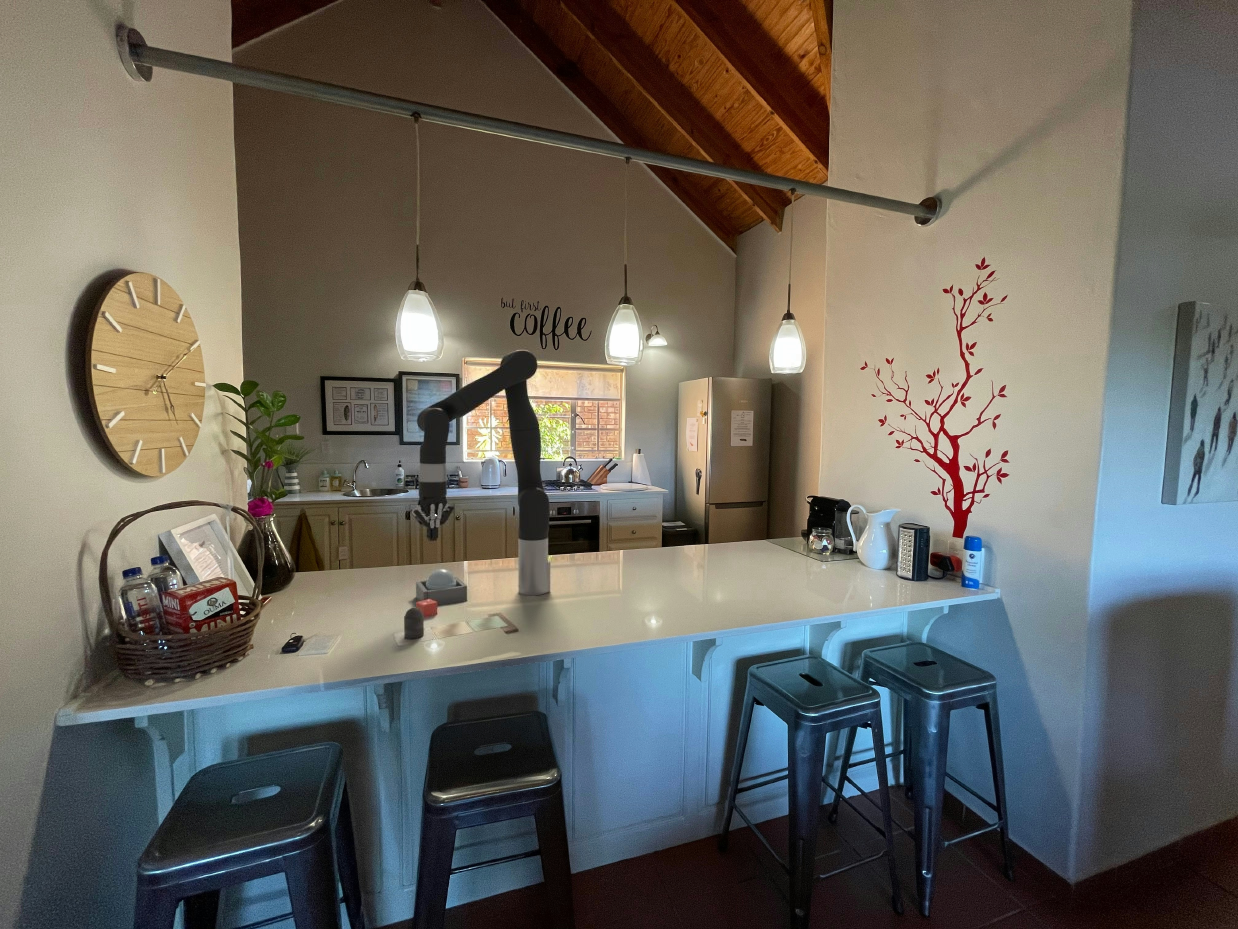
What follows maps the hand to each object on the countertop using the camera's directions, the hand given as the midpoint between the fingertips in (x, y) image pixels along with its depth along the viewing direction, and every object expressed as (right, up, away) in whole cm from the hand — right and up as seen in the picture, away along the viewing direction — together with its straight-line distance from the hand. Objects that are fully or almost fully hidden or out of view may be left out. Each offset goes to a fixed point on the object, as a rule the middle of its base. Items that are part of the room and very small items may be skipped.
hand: (432, 540), depth 154 cm
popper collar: (-1, -19, +10) cm, 21 cm away
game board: (+11, -21, -17) cm, 29 cm away
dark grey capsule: (+3, -20, -22) cm, 30 cm away
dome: (-1, -18, +10) cm, 20 cm away
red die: (0, -20, -6) cm, 21 cm away
